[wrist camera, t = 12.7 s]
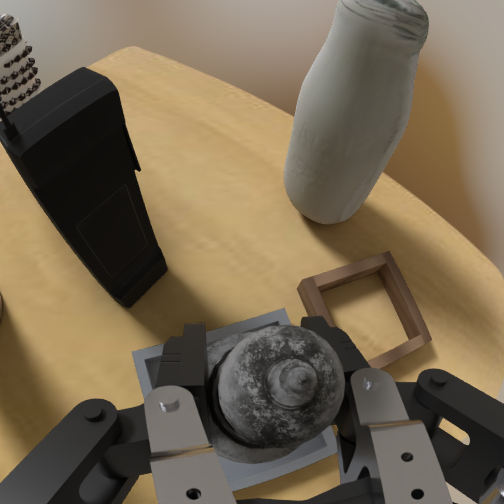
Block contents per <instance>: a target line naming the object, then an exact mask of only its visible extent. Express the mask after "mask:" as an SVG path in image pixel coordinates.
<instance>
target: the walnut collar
mask: <svg viewBox="0 0 504 504" xmlns="http://www.w3.org/2000/svg"><path fill="white" fill-rule="evenodd" d="M376 272H378V274H379V276H380V278H381V280H382V283H383V285H384V287H385V289H386V291H387V293H388V295H389V297H390V299H391V301H392V303H393V305H394V308H395V310H396V312H397V314H398V316H399V318H400V321H401V323H402V325H403V327H404V330H405V332H406V334H407V336H408V339H409V341H407V342H405V343H403V344H401V345H399V346H397V347H395V348H393V349H392V350H390V351H388V352H386V353H384V354H382V355H380V356H378V357H376V358H374V359H372V360H369V361H367V362H368V364H369V365H370V366H371V368H377V369H381V368H383V367H385V366H387V365H388V364H390V363H392V362H394V361H396V360H398V359H400V358H401V357H403V356H405V355H407V354H409V353H410V352H412V351H414V350H416V349H417V348H419V347H421V346H423V345H424V344H426V343H428V342H429V341H431V340H432V338H431V336H430V333H429V331H428V329H427V327H426V324H425V322H424V320H423V318H422V315H421V313H420V311H419V309H418V307H417V305H416V303H415V301H414V298H413V296H412V294H411V292H410V290H409V288H408V286H407V284H406V282H405V280H404V278H403V276H402V274H401V272H400V270H399V268H398V266H397V265H396V263H395V261H394V259H393V257H392V255H391V253H390V251H387V252H384V253H381V254H378V255H376V256H373V257H370V258H367V259H364V260H361V261H358V262H355V263H352V264H349V265H346V266H343V267H340V268H337V269H334V270H331V271H327V272H324V273H321V274H318V275H315V276H312V277H309V278H306V279H302V281H301V282H300V284H299V286H298V288H297V290H298V293H299V295H300V297H301V300H302V302H303V305H304V307H305V309H306V312H307V314H308V317H310V316H323V317H324V319H325V320H326V322H327V323H328V325H329V326H330V327H335V326H334V324H333V322H332V319H331V317H330V315H329V312H328V310H327V308H326V305H325V303H324V301H323V299H322V296H321V294H320V292H323V291H326V290H329V289H331V288H334V287H337V286H340V285H343V284H346V283H348V282H351V281H354V280H357V279H360V278H362V277H365V276H368V275H371V274H373V273H376Z"/></svg>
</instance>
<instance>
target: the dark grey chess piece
mask: <svg viewBox="0 0 504 504" xmlns="http://www.w3.org/2000/svg"><path fill="white" fill-rule="evenodd" d="M207 355H208V370H209V380H208V385H207V399H208V409H209V412H210V433H211V438H207V439H208V442H209V444H210V446H213V447H214V449H215V452H216V454H217V455H219V456H221V457H223V458H226V459H228V460H231V461H233V462H239V463H247V464H259V463H266V462H272V461H275V460H277V459H280V458H282V457H284V456H287V455H289V454H290V453H292V452H293V451H294V450H296V449H297V448H298V447H299V446H301V445H302V444H303V443H305V442H307V441H309V440H311V439H313V438H315V437H317V436H318V435H319V434H320V433H321V432H323V431H324V430H325V429H326V428H327V427H328V426H329V425H330V424H331V422H332V421H333V419H334V418H335V417H336V415H337V414H338V412H339V409H340V406H341V404H342V401H343V398H344V389H345V378H344V372H343V367H342V364H341V362H340V360H339V358H338V355H337V353H336V352H335V351H334V349H333V348H332V347H331V346H330V344H329V343H328V342H327V341H326V340H325V339H323V338H322V337H320V336H319V335H318V334H316V333H315V332H313V331H310V330H308V329H305V328H303V327H300V326H292V325H278V326H270V327H266V328H264V329H261V330H259V331H256V332H247V333H237V334H234V335H231V336H228V337H225V338H222V339H220V340H218V341H217V342H215V343H214V344H212V345H211V346H209V347H208V348H207Z"/></svg>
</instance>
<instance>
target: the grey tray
mask: <svg viewBox="0 0 504 504" xmlns="http://www.w3.org/2000/svg"><path fill="white" fill-rule="evenodd" d="M278 325H291V323H290V321H289V318H288V316H287V313H286V311H285V308H283V309H279V310H276V311H273V312H270V313H267V314H264V315H261V316H257V317H254V318H251V319H248V320H245V321H241V322H238V323H235V324H231V325H228V326H225V327H221V328H218V329H214V330H211V331H207V332H206V343H207V348H208V347H209V346H211V345H212V344H214V343H215V342H217V341H218V340H220V339H222V338H225V337H228V336H231V335H234V334H237V333H247V332H256V331H259V330H261V329H264V328H266V327H270V326H278ZM164 344H165V343H164ZM164 344H160V345H156V346H152V347H148V348H144V349H141V350H137V351H132V355H133V359H134V363H135V367H136V371H137V375H138V379H139V382H140V386H141V389H142V393H143V397H144V400H145V398H146V396H147V395H148V394H149V393H150V392H151V391H152V390H154V389H155V387H156V381H157V376H158V371H159V366H160V363H161V356H162V351H163V346H164ZM335 453H337V443H336V437H335V435H334V432H333V430H332V427H331V425H330V426H328V427H327V428H326V429H325V430H324V431H323V432H321V433H320V434H319V435H318V436H317V437H315V438H313V439H311V440H309V441H307V442H305V443H303V444H302V445H301V446H299V447H298V448H297V449H296V450H294V451H293V452H292V453H290V454H289V455H287V456H284V457H282V458H280V459H277V460H275V461H272V462H266V463H259V464H247V463H239V462H233V461H231V460H228V459H226V458H223V457H221V456H219V455H217V457H218V459H219V462H220V464H221V467H222V469H223V472H224V474H225V477H226V479H227V482H228V484H229V486H230V489H231V491H232V492H233V491H236V490H240V489H243V488H246V487H250V486H253V485H256V484H259V483H262V482H265V481H268V480H271V479H274V478H277V477H279V476H282V475H285V474H288V473H290V472H293V471H295V470H298V469H301V468H303V467H305V466H308V465H310V464H313V463H315V462H317V461H320V460H322V459H324V458H326V457H329V456H331V455H333V454H335Z"/></svg>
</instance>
